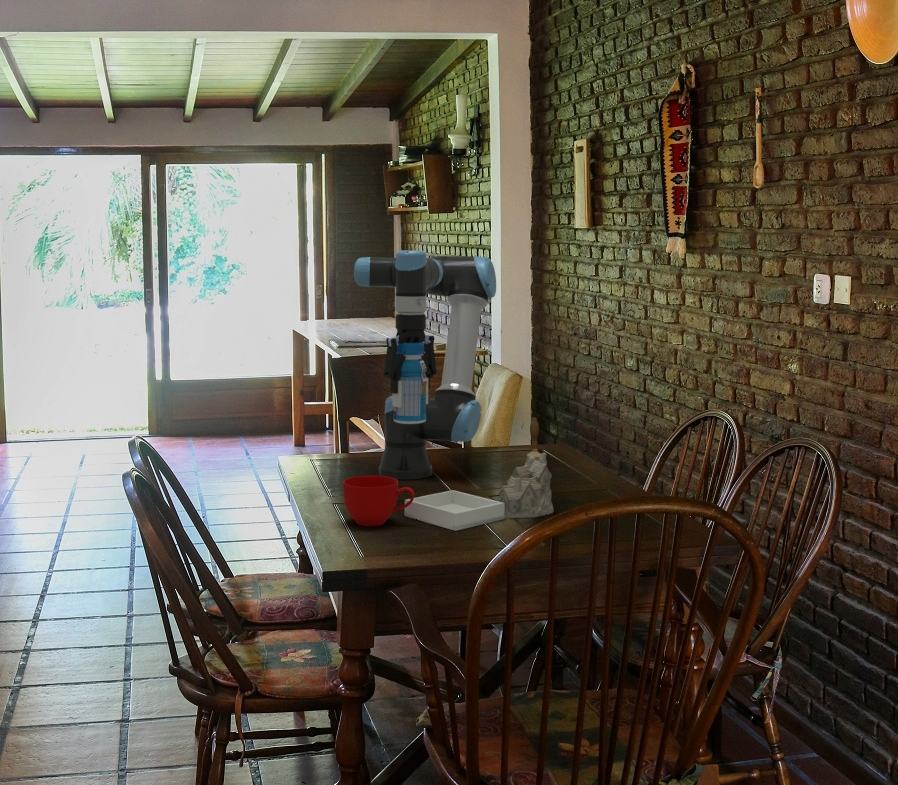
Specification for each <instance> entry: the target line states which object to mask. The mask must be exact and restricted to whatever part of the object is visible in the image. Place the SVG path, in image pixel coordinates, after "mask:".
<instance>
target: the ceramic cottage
mask: <svg viewBox="0 0 898 785" xmlns="http://www.w3.org/2000/svg"><path fill="white" fill-rule="evenodd" d="M547 464H548V462H547V453H546V452H542V453H541V457H539V460H538V461H536V460H535V457H529V458H528V462H527V466H524V465H523V466H516V467H514V470H513V472H512V474H511V475H510V477H509V478H508V480H506V483H505V484H506V485H503V486H502V487H501V488H500V489H499V491H498V493H497V496H498V497H499V498H498V500H497V501H499V502H503V503H505V508H504V519H517V518H518V519H524V518H525V519H526V518H528V519H529V518H531V519H533V518H538V517H542V516H548V515H550V514H553V513H554V506H553V503H552V490H551V479H552V477H553V475H552V472H550V470H549V469H548V467H547ZM546 514H547V515H546Z"/></svg>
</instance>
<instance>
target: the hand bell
mask: <svg viewBox="0 0 898 785" xmlns="http://www.w3.org/2000/svg"><path fill="white" fill-rule="evenodd" d="M529 433H530V434H529V435H530V437H531V438H530V439H531V451H530V452H529V453H526V460H525V463H524V465H523V466H527V462H528V458H529V457H535V460H536V461H538V460H539V457H541V454H542V453H540V452H539V451H538V437H539V433H540V426H539V422H538V419H537V417H532V418H531V422H530V425H529Z"/></svg>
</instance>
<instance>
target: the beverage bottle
mask: <svg viewBox="0 0 898 785" xmlns="http://www.w3.org/2000/svg"><path fill="white" fill-rule="evenodd" d="M405 351H406V353H405ZM397 353H398V354H400V355H401V354H403V353H405V354H404V356H406V359H405V360H404V362H403V365H402V368H401V375H400V378H399V380H398V381H401V385H402V407H395V406H394V416H393V419H394V421H395V422H397V423H401V424H419V423H423V422H425V421H426V384H427V377H426V375H425V372H426V370H427V369H426V365H425V363H424V361H423V359H422V358H421V356H422V355H423V354H425V352H424V342H419V343H403V344H401V343H399V344H398V345H397Z"/></svg>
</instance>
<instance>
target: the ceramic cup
mask: <svg viewBox="0 0 898 785" xmlns="http://www.w3.org/2000/svg"><path fill="white" fill-rule="evenodd" d="M342 490H343V492H342V493H343V499H344V504H345V507H346V510H347V512H348V515H350V517H351V518H352V520H353V521H355V522H356V525H358V524H359V525H358V526H362V525H363V527H378V526H383V525H384V524H386V522H387V520H389V518H390V517H391V515H392V514H393V513H394V512H396V511H400V510H403V509H405V508H406V507H407V506H409V505H410V504H411V503H412V501H413V499H414V498H415V492H414V490H413V489H412V488H411V487H407V486H406V487H401V488H399V479H395V478H391V477H386V476H380V475H358V476H352V477H348V478H345V479H344V480H343V481H342ZM404 491H407V492H409V493H410V494H411V495H410V498H409V499H410V501H409V502H408V503H407V504H405V503H404V504H402V505H400V506H396V505H397V500H398V497H399V495H400V494H401V493H402V492H404Z"/></svg>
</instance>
